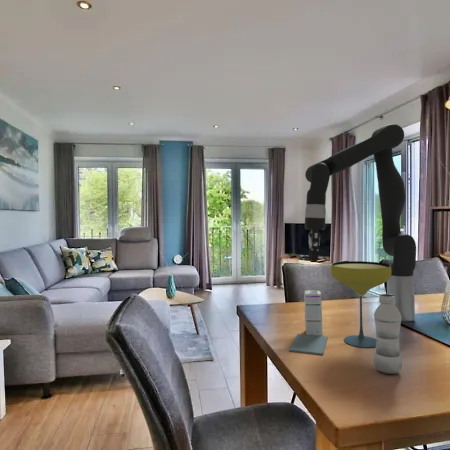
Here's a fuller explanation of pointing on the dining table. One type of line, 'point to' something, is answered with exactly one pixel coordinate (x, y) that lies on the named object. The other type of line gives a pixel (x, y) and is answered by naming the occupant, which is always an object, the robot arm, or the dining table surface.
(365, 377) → the dining table surface
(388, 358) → the plastic bottle
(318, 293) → the syrup box
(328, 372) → the dining table surface
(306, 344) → the mat
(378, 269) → the cocktail glass
